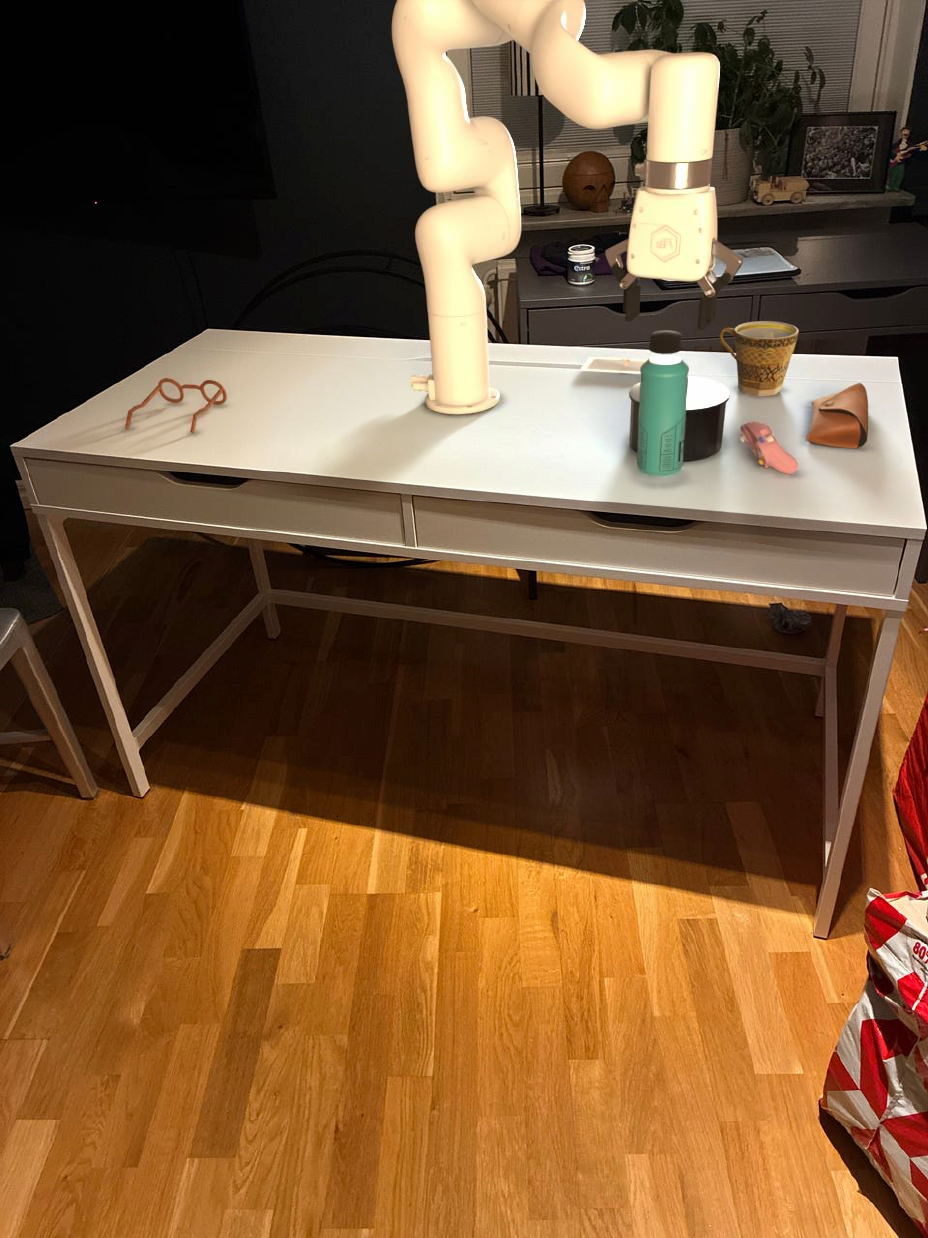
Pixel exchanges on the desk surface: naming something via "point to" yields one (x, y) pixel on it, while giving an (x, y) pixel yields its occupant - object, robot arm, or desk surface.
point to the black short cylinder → (692, 432)
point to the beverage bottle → (662, 407)
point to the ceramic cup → (762, 355)
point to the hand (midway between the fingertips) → (667, 322)
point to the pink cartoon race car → (767, 447)
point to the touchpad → (613, 365)
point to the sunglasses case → (840, 419)
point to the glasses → (201, 388)
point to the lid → (696, 394)
